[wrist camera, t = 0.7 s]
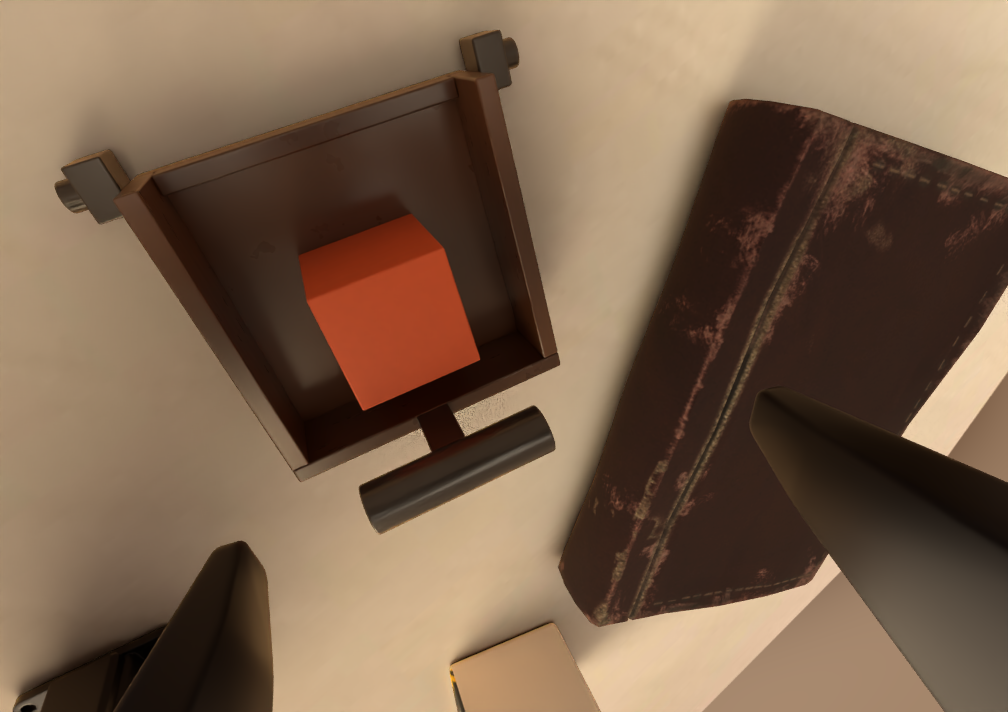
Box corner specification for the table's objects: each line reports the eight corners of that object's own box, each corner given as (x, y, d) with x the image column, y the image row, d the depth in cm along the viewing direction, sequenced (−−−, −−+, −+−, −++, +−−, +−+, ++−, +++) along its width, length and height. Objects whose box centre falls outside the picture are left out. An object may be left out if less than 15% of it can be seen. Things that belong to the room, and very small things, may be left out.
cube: (446, 311, 21) (481, 360, 17) (346, 353, 20) (362, 411, 17) (411, 212, 18) (444, 247, 15) (297, 255, 18) (306, 300, 14)
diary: (545, 560, 31) (587, 636, 27) (709, 94, 22) (813, 104, 18) (768, 530, 40) (827, 585, 35) (961, 180, 30) (1073, 201, 26)
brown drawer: (529, 339, 23) (616, 431, 18) (300, 439, 22) (315, 578, 16) (459, 69, 18) (556, 77, 12) (135, 175, 16) (65, 245, 10)
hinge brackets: (513, 77, 19) (530, 79, 18) (88, 220, 16) (76, 233, 15) (502, 24, 18) (519, 23, 17) (51, 166, 15) (34, 175, 14)
